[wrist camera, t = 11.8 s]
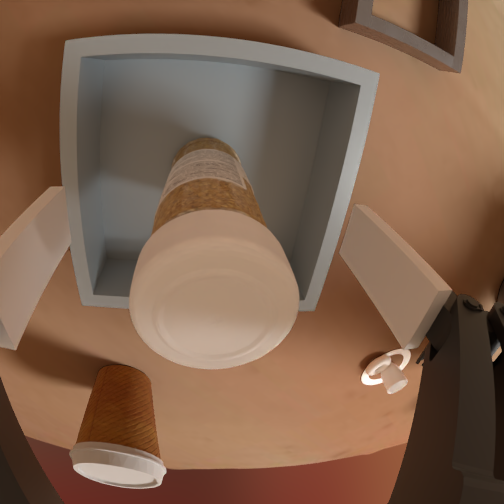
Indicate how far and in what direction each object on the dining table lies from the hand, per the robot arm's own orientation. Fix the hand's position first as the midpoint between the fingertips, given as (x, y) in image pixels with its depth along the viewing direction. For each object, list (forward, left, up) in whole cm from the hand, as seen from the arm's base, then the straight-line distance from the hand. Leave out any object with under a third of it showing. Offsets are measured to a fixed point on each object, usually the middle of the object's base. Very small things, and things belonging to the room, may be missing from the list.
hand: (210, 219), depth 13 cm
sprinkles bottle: (0, 0, -7) cm, 7 cm away
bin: (0, 0, -8) cm, 8 cm away
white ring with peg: (-26, +21, -9) cm, 35 cm away
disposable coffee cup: (+8, +24, -8) cm, 27 cm away
